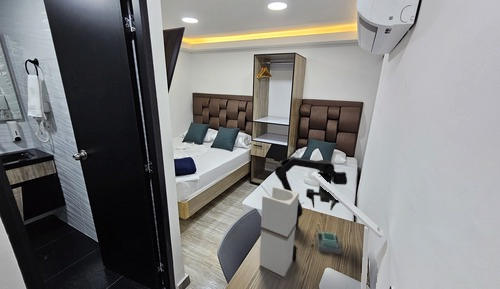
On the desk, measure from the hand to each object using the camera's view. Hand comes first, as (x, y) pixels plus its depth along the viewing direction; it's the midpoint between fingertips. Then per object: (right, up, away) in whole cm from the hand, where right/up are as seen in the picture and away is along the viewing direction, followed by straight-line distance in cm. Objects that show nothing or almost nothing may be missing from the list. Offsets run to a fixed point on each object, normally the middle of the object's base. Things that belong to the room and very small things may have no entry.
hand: (322, 208), depth 114 cm
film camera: (-25, -16, -15) cm, 33 cm away
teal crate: (-1, -15, -11) cm, 18 cm away
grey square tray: (-1, -16, -11) cm, 19 cm away
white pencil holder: (-29, -18, -24) cm, 42 cm away
